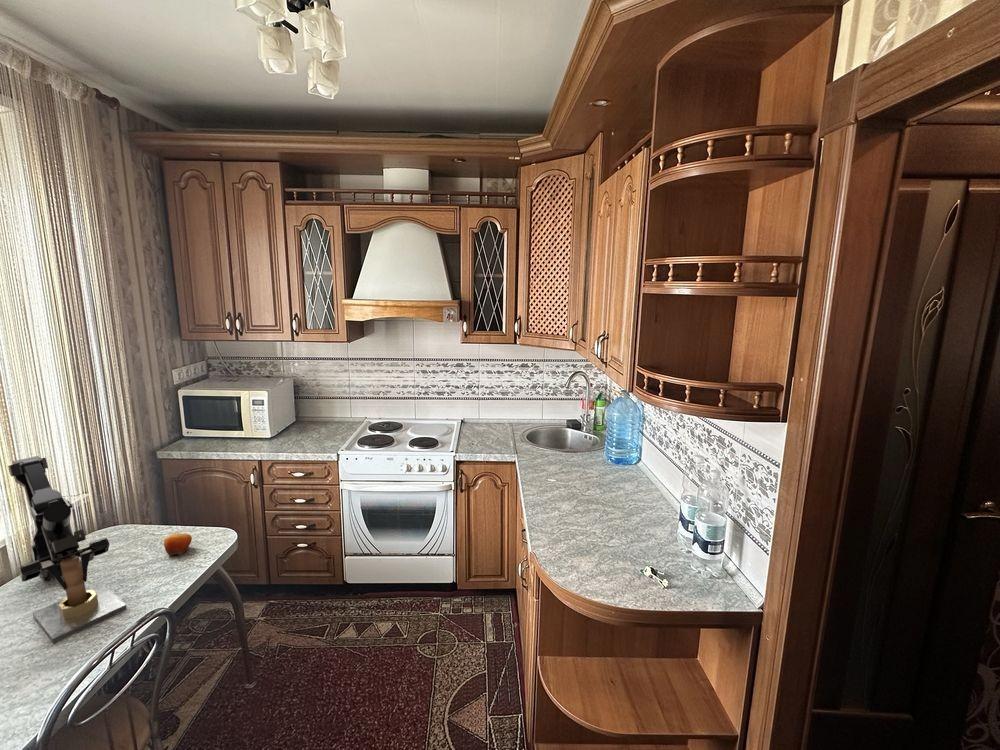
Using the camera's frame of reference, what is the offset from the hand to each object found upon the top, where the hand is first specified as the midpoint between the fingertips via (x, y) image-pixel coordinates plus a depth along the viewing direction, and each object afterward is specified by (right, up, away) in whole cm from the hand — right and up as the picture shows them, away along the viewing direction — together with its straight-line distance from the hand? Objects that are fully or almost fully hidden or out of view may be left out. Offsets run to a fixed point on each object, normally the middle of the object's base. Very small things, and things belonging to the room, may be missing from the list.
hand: (75, 585), depth 133 cm
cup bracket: (-1, -9, +3) cm, 9 cm away
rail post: (-1, -6, +2) cm, 7 cm away
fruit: (+7, -3, +33) cm, 34 cm away
